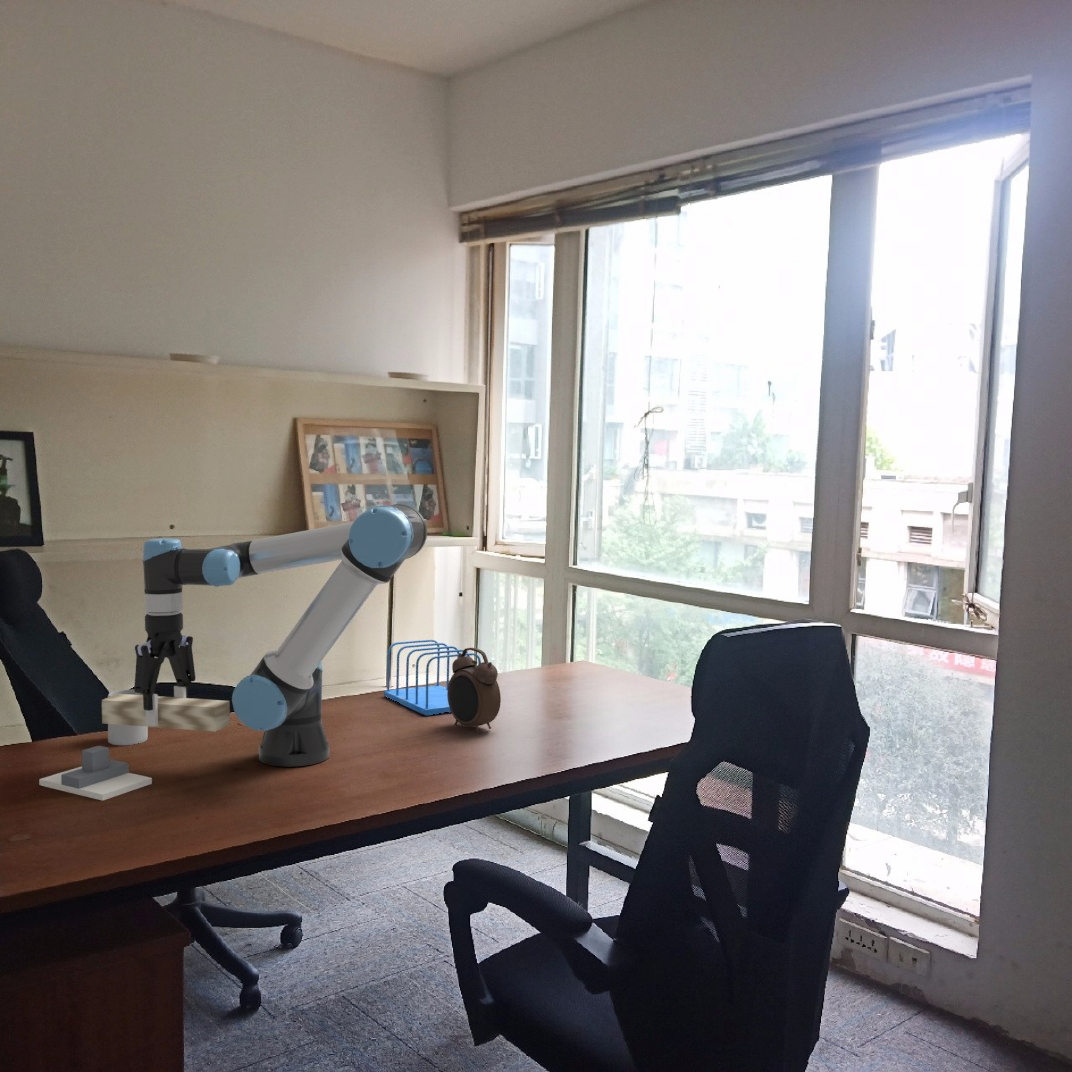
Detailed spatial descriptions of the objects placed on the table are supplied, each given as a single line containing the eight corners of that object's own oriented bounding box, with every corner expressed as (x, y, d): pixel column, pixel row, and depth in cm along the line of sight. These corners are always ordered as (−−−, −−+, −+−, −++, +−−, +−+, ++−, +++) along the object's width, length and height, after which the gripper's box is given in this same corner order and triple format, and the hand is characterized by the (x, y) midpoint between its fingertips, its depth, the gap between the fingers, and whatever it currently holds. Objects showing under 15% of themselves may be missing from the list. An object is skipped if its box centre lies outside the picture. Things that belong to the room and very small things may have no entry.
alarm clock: (442, 725, 262) (443, 645, 260) (464, 720, 267) (466, 642, 265) (479, 738, 251) (481, 655, 249) (502, 732, 256) (504, 651, 254)
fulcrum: (151, 783, 212) (151, 748, 211) (102, 800, 201) (102, 763, 201) (89, 769, 220) (89, 735, 220) (39, 785, 210) (38, 749, 209)
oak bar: (229, 724, 222) (229, 700, 222) (215, 731, 216) (215, 707, 216) (119, 716, 227) (118, 693, 227) (102, 723, 222) (101, 700, 221)
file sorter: (483, 709, 279) (484, 652, 278) (425, 717, 270) (426, 658, 268) (438, 690, 300) (439, 637, 299) (383, 697, 290) (383, 642, 289)
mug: (113, 747, 236) (113, 699, 236) (103, 738, 243) (103, 692, 242) (167, 740, 244) (167, 693, 243) (156, 731, 250) (156, 686, 250)
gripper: (186, 605, 231) (189, 708, 232) (112, 617, 213) (115, 729, 215) (212, 607, 227) (214, 712, 229) (138, 620, 209) (141, 734, 211)
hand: (166, 720), depth 222 cm, fingers closed on oak bar, 7 cm apart
